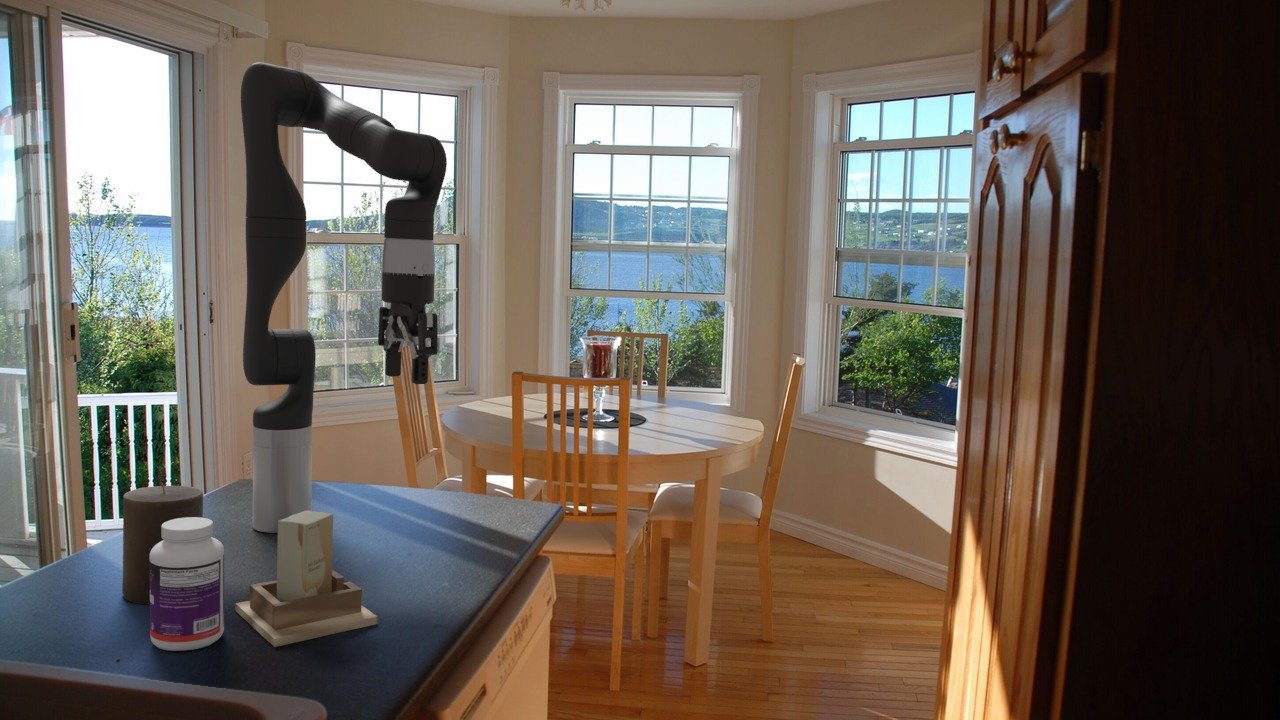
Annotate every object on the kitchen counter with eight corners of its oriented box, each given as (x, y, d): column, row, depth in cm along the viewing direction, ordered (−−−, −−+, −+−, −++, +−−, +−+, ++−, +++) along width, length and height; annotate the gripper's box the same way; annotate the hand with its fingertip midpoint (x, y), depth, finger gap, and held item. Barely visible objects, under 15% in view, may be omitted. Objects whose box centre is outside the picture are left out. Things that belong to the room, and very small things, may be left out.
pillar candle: (162, 609, 125) (162, 495, 123) (105, 596, 128) (105, 485, 127) (218, 587, 134) (220, 481, 132) (164, 576, 137) (165, 472, 136)
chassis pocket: (235, 610, 126) (235, 580, 125) (332, 591, 134) (332, 563, 134) (274, 647, 115) (274, 614, 115) (377, 624, 123) (377, 593, 123)
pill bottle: (166, 627, 119) (165, 513, 118) (233, 628, 120) (233, 514, 119) (138, 654, 111) (136, 532, 110) (210, 655, 112) (210, 533, 111)
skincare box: (305, 620, 121) (306, 525, 120) (274, 615, 122) (275, 521, 121) (333, 603, 127) (335, 512, 126) (304, 598, 128) (305, 508, 127)
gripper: (363, 267, 145) (361, 375, 147) (407, 272, 135) (405, 387, 136) (409, 269, 150) (407, 372, 152) (455, 273, 140) (452, 385, 141)
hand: (406, 379), depth 144 cm, fingers open, 8 cm apart
